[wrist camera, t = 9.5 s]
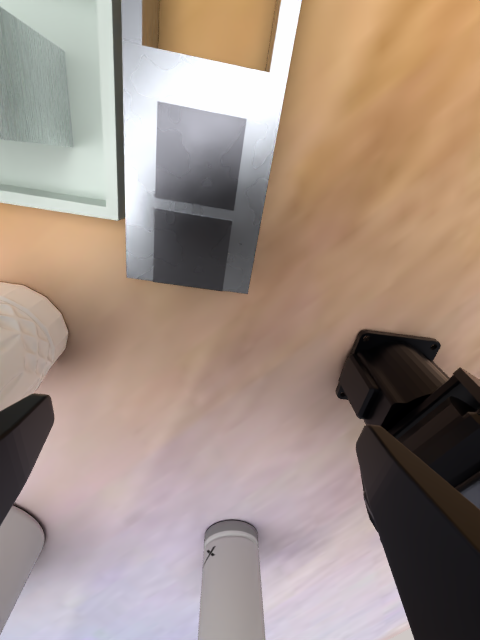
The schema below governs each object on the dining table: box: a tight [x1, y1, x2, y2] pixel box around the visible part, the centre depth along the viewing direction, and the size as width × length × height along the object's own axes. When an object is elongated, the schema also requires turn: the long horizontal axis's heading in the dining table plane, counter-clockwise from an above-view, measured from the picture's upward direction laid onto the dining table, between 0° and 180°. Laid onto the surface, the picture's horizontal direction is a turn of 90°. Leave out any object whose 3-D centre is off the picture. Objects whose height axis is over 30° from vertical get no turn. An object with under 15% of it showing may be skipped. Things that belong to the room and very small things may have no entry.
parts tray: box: [0, 0, 125, 221], centre depth 14 cm, size 10×10×3 cm
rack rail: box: [121, 0, 302, 294], centre depth 14 cm, size 7×20×3 cm, turn 171°
